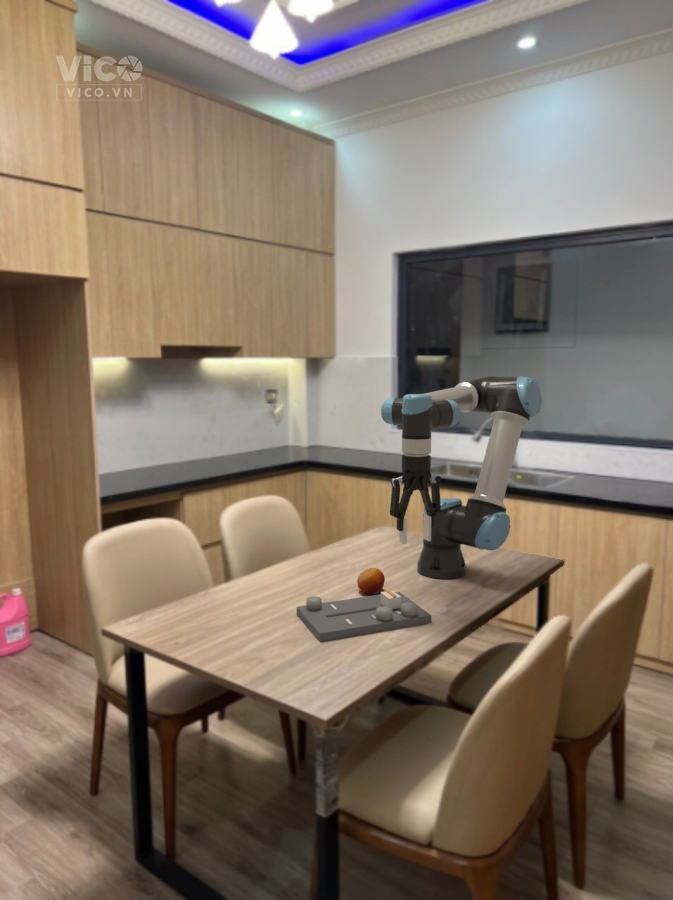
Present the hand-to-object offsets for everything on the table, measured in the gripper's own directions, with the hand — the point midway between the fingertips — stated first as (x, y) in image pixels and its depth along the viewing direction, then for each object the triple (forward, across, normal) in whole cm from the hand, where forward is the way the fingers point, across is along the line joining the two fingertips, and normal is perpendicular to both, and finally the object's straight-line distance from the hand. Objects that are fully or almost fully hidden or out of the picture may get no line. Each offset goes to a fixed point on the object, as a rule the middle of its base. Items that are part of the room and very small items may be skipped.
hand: (415, 541), depth 170 cm
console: (+19, +15, 0) cm, 24 cm away
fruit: (+19, +5, -17) cm, 26 cm away
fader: (+17, +7, 0) cm, 18 cm away
